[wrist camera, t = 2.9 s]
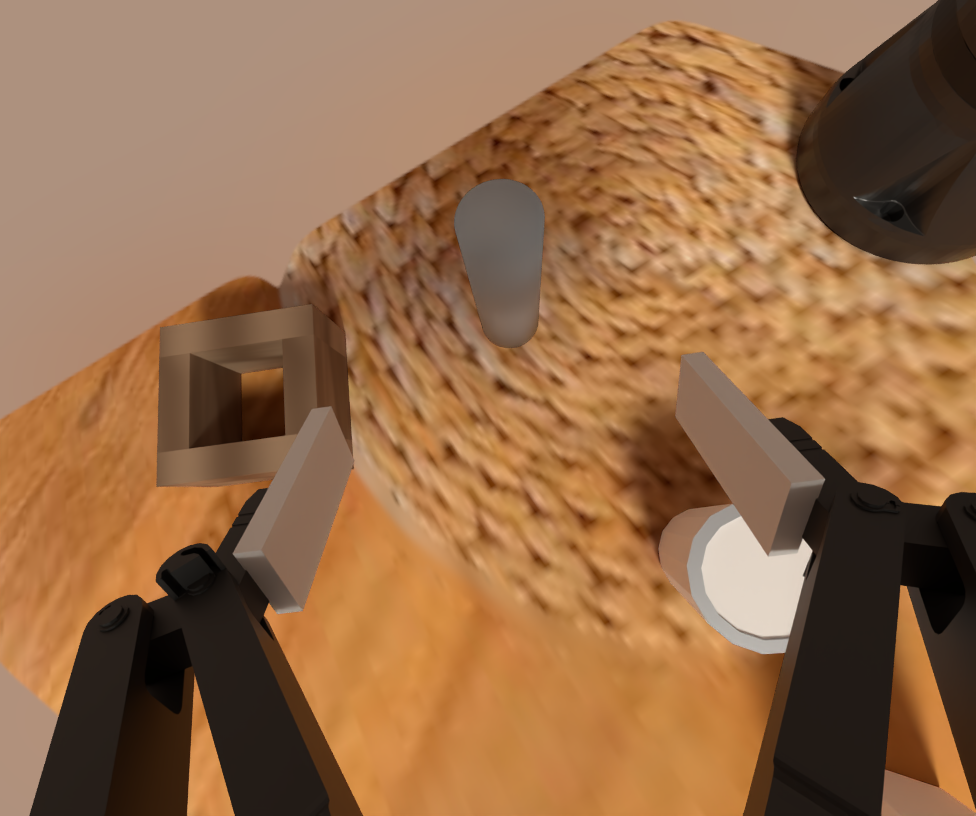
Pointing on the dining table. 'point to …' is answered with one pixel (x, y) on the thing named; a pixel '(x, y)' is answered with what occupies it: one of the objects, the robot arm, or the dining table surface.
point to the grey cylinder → (503, 257)
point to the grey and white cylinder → (733, 577)
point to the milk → (918, 799)
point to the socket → (217, 392)
